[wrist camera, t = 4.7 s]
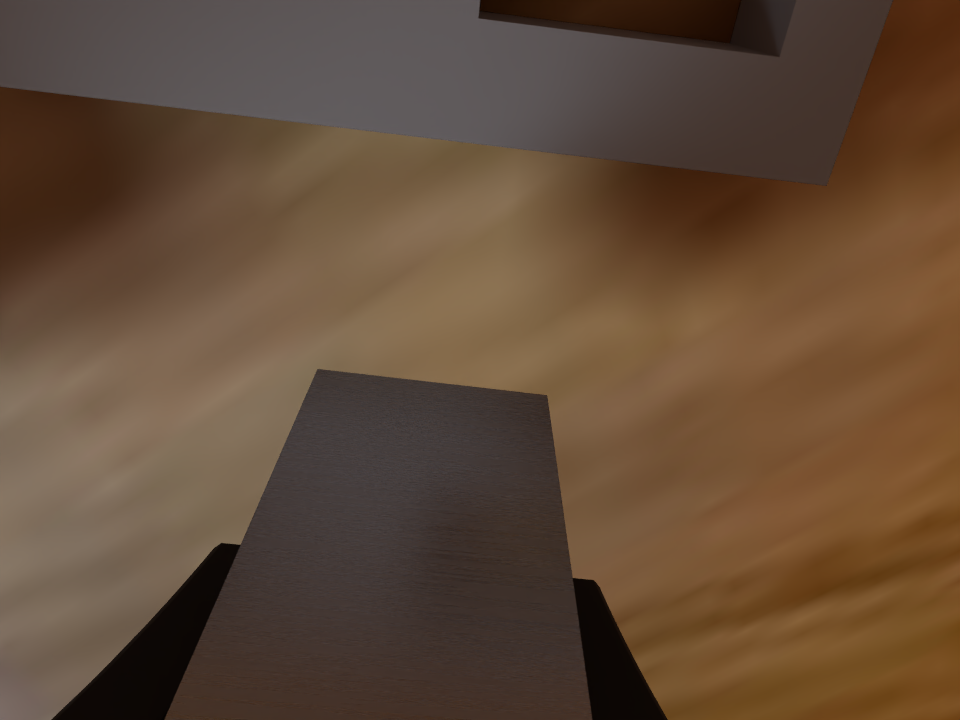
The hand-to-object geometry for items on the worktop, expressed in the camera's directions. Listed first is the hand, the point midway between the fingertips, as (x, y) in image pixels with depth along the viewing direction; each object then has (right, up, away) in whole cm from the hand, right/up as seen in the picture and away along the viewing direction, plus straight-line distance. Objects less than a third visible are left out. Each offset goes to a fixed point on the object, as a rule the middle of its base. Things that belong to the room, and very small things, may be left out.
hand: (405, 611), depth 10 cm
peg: (0, +2, +3) cm, 3 cm away
